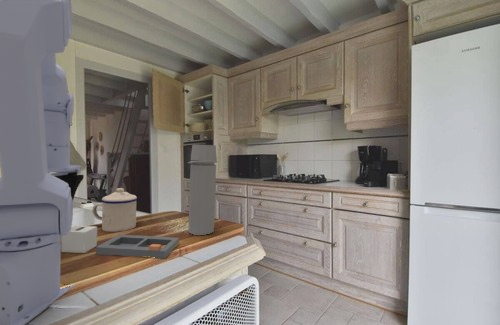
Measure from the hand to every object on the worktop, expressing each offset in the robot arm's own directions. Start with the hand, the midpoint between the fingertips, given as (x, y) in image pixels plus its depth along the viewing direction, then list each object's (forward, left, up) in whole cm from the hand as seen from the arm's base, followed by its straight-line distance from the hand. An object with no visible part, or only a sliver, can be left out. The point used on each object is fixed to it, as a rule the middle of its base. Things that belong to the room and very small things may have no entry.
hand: (52, 210), depth 50 cm
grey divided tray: (+3, -18, -10) cm, 20 cm away
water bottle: (+17, -28, -10) cm, 34 cm away
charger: (+2, -5, -10) cm, 11 cm away
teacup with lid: (+18, -3, -10) cm, 21 cm away
